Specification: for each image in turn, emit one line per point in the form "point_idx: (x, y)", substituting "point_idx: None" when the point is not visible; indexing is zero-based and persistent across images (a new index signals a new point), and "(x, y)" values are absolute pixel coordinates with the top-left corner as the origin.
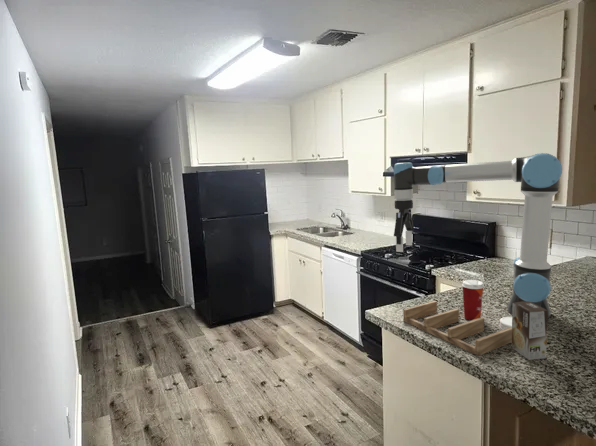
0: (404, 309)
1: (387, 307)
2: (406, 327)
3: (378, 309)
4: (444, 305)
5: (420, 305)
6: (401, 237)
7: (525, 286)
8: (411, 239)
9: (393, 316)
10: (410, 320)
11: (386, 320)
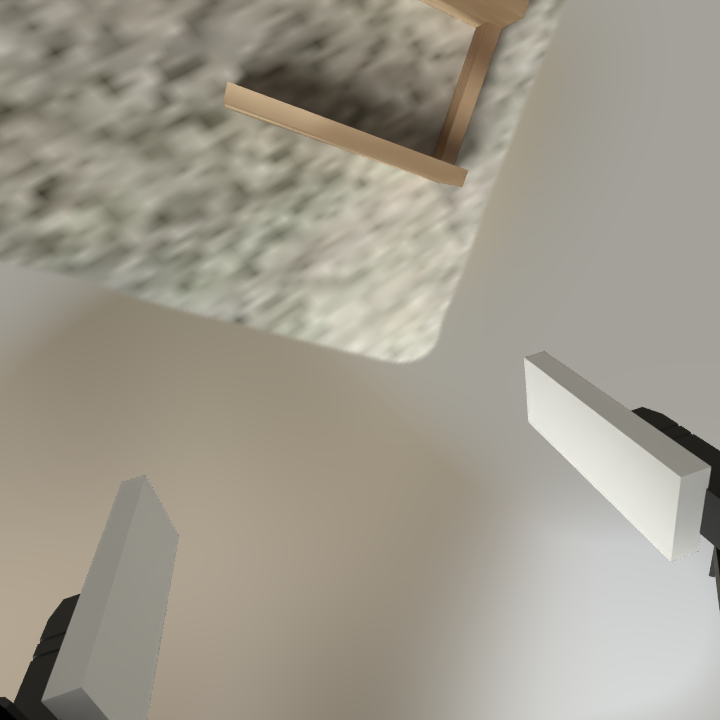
0: (460, 181)
1: (333, 336)
2: (495, 131)
3: (379, 350)
4: (83, 105)
5: (358, 137)
6: (696, 469)
7: None
8: (128, 542)
9: (413, 251)
10: (463, 133)
11: (470, 249)
